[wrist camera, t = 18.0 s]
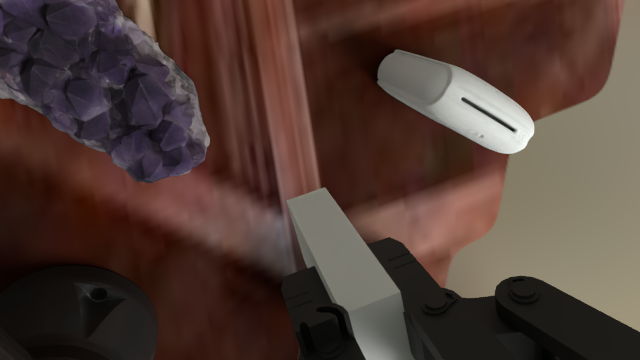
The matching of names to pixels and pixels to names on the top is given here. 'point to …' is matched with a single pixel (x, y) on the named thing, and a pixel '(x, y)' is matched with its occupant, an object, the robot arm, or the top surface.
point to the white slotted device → (456, 100)
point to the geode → (102, 84)
